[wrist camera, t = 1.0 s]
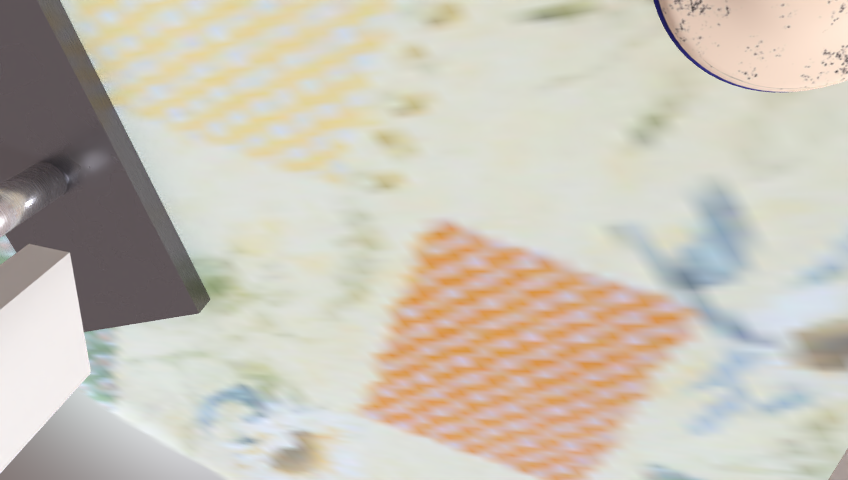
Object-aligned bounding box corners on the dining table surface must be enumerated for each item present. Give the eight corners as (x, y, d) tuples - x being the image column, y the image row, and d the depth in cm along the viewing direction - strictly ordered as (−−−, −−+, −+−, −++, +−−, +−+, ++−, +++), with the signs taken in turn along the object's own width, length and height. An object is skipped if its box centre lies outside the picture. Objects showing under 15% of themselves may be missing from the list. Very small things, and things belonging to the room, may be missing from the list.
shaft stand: (-101, 20, 38) (-240, 55, 31) (43, -33, 35) (-78, -6, 28) (82, 321, 46) (2, 397, 40) (210, 299, 43) (146, 378, 37)
